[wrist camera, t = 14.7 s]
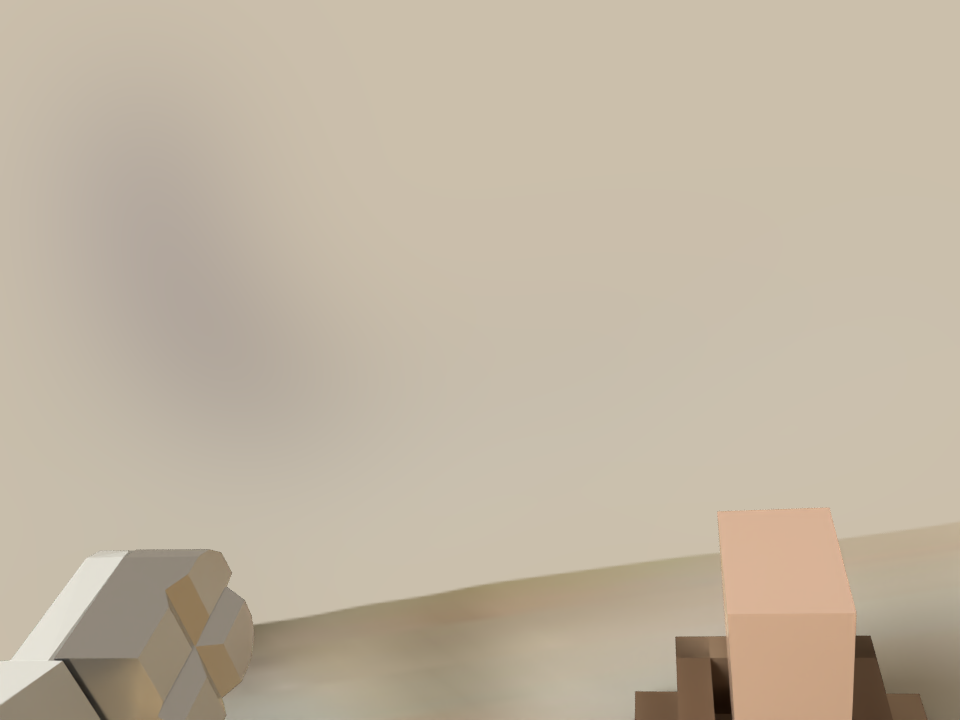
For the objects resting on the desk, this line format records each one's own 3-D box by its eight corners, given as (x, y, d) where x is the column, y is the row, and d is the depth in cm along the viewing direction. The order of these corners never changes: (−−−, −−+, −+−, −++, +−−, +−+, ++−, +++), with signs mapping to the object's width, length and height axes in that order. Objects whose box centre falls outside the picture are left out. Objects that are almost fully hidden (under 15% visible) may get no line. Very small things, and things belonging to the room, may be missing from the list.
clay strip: (743, 847, 36) (727, 614, 29) (733, 739, 40) (717, 511, 33) (846, 853, 35) (856, 612, 28) (825, 741, 39) (829, 507, 32)
